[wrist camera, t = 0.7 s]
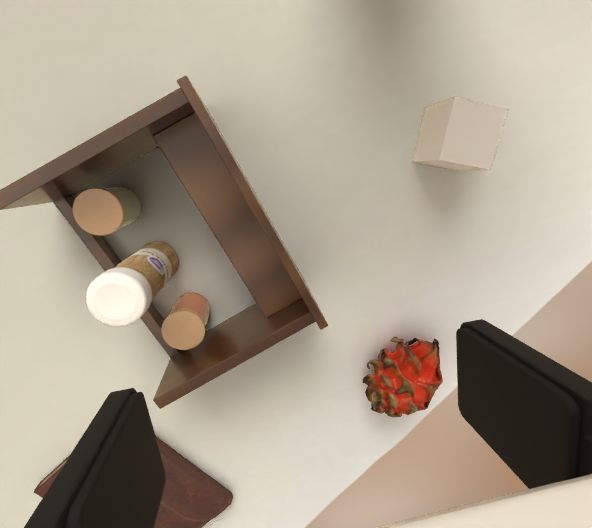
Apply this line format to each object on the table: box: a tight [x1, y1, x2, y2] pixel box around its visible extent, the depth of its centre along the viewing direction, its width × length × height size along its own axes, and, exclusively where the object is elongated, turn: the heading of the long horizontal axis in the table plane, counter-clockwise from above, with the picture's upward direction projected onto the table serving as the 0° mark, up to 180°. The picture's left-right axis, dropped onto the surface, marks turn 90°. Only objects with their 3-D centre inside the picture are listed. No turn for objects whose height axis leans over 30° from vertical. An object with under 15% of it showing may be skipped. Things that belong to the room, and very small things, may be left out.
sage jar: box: [73, 187, 141, 236], centre depth 35 cm, size 4×4×6 cm
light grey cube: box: [412, 97, 509, 171], centre depth 38 cm, size 6×6×6 cm
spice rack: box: [0, 76, 328, 409], centre depth 34 cm, size 23×18×12 cm
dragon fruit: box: [363, 337, 443, 417], centre depth 44 cm, size 8×8×12 cm
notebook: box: [34, 436, 233, 528], centre depth 46 cm, size 15×20×2 cm
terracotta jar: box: [161, 293, 210, 350], centre depth 39 cm, size 4×4×6 cm
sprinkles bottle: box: [86, 242, 178, 327], centre depth 34 cm, size 5×5×14 cm
